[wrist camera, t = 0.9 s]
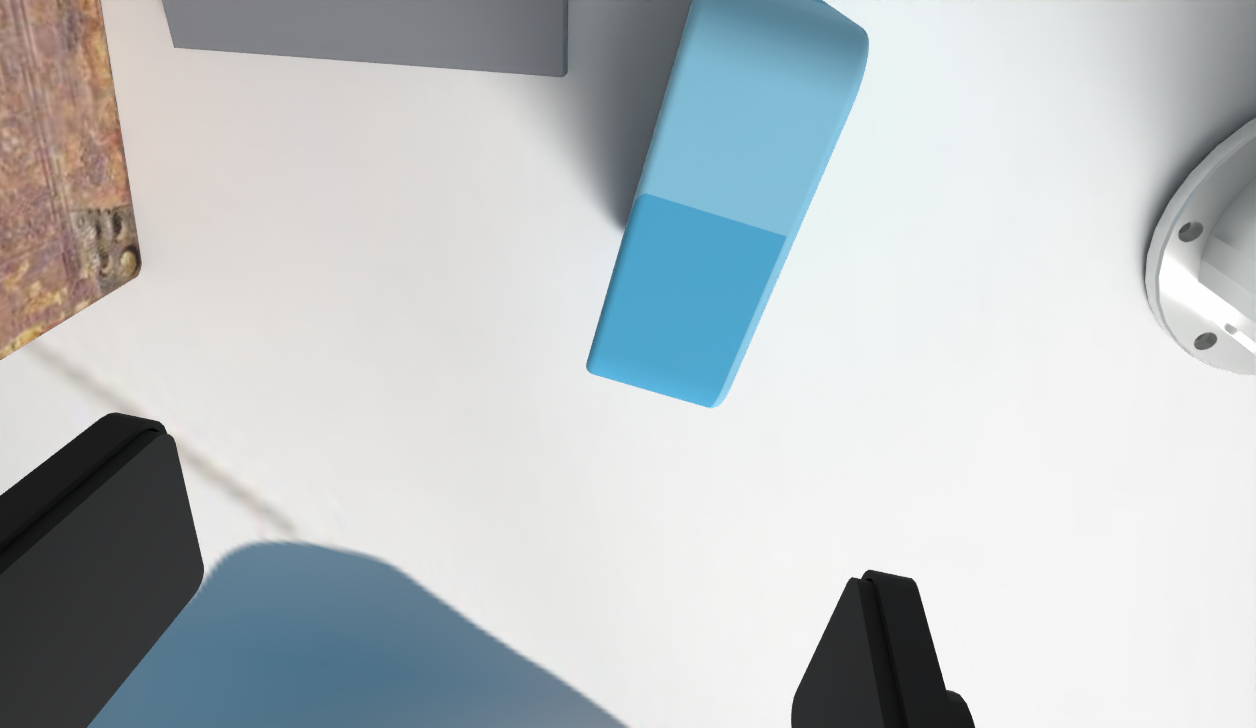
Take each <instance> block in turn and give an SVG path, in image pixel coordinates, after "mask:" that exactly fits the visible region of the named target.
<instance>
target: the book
mask: <svg viewBox="0 0 1256 728" xmlns="http://www.w3.org/2000/svg"><path fill="white" fill-rule="evenodd" d="M141 263H142V262H141V255H140V249H139V242H138V236H137V230H136V223H135V217H134V211H133V204H132V198H131V192H130V186H129V179H128V173H127V167H126V160H125V154H124V148H123V141H122V135H121V129H120V123H119V116H118V110H117V104H116V97H115V91H114V85H113V78H112V72H111V66H110V60H109V53H108V47H107V41H106V34H105V28H104V22H103V16H102V9H101V3H100V0H0V360H1V359H3V358H5V357H6V356H8V355H10V354H11V353H13V352H14V351H16V350H18V349H19V348H21V347H23V346H24V345H26V344H28V343H29V342H31V341H32V340H34V339H36V338H37V337H39V336H41V335H42V334H44V333H46V332H47V331H49V330H50V329H52V328H54V327H55V326H57V325H59V324H60V323H62V322H64V321H65V320H67V319H68V318H70V317H72V316H73V315H75V314H77V313H78V312H80V311H82V310H83V309H85V308H86V307H88V306H90V305H91V304H93V303H95V302H96V301H98V300H100V299H101V298H103V297H104V296H106V295H108V294H109V293H111V292H113V291H114V290H116V289H118V288H119V287H121V286H122V285H124V284H126V283H127V282H129V281H131V280H132V279H134V278H136V277H137V276H138V275H139V272H140V270H141Z"/></svg>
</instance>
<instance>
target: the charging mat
mask: <svg viewBox="0 0 1256 728" xmlns="http://www.w3.org/2000/svg"><path fill="white" fill-rule="evenodd" d="M162 2H163V6H164V10H165V14H166V18H167V21H168V25H169V29H170V33H171V37H172V41H173V45H174V48H186V49H200V50H213V51H226V52H239V53H252V54H265V55H278V56H292V57H305V58H318V59H331V60H344V61H357V62H370V63H383V64H397V65H410V66H423V67H436V68H449V69H462V70H475V71H489V72H502V73H515V74H528V75H541V76H554V77H563V76H564V75H565V74H566V73H567V40H568V0H162Z"/></svg>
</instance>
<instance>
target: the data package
mask: <svg viewBox="0 0 1256 728" xmlns="http://www.w3.org/2000/svg"><path fill="white" fill-rule="evenodd" d="M868 50H869V40H868V36H867V33H866V31H865V30H864V29H863V28H862V27H860V26H859V25H857V24H856V23H854V22H853V21H852V20H850V19H849V18H847V17H846V16H844V15H843V14H841V13H840V12H839V11H837V10H836V9H834V8H833V7H831V6H830V5H828V4H827V3H825V2H824V1H823V0H692V2H691V6H690V9H689V13H688V16H687V20H686V23H685V26H684V30H683V33H682V37H681V40H680V43H679V47H678V50H677V54H676V57H675V61H674V64H673V67H672V71H671V74H670V78H669V81H668V84H667V88H666V91H665V95H664V98H663V102H662V105H661V108H660V112H659V115H658V119H657V122H656V125H655V129H654V132H653V136H652V139H651V143H650V146H649V149H648V153H647V156H646V160H645V163H644V166H643V170H642V173H641V177H640V180H639V183H638V187H637V190H636V194H635V197H634V201H633V204H632V207H631V211H630V214H629V218H628V221H627V225H626V228H625V231H624V235H623V238H622V242H621V245H620V249H619V252H618V255H617V259H616V262H615V266H614V269H613V273H612V276H611V280H610V283H609V287H608V290H607V294H606V297H605V301H604V304H603V308H602V311H601V315H600V318H599V322H598V325H597V329H596V332H595V336H594V339H593V343H592V346H591V349H590V353H589V356H588V360H587V364H586V367H587V370H588V371H589V372H590V373H591V374H594V375H598V376H601V377H604V378H608V379H611V380H615V381H618V382H622V383H625V384H629V385H632V386H636V387H639V388H642V389H646V390H649V391H653V392H656V393H660V394H663V395H667V396H670V397H673V398H677V399H680V400H684V401H687V402H691V403H694V404H698V405H701V406H705V407H708V408H715V407H717V406H718V405H720V404H721V403H722V401H723V400H724V399H725V397H726V395H727V394H728V392H729V390H730V388H731V385H732V383H733V381H734V379H735V376H736V374H737V372H738V369H739V367H740V365H741V362H742V360H743V358H744V355H745V353H746V351H747V348H748V346H749V344H750V342H751V339H752V337H753V335H754V332H755V330H756V328H757V325H758V323H759V321H760V318H761V316H762V314H763V312H764V309H765V307H766V305H767V302H768V300H769V298H770V295H771V293H772V291H773V288H774V286H775V284H776V281H777V279H778V277H779V275H780V272H781V270H782V268H783V265H784V263H785V261H786V258H787V256H788V254H789V251H790V249H791V247H792V244H793V242H794V240H795V238H796V235H797V233H798V231H799V228H800V226H801V224H802V221H803V219H804V217H805V214H806V212H807V210H808V208H809V205H810V203H811V201H812V198H813V196H814V194H815V191H816V189H817V187H818V184H819V182H820V180H821V177H822V175H823V173H824V171H825V168H826V166H827V164H828V161H829V159H830V157H831V154H832V152H833V150H834V147H835V145H836V143H837V140H838V138H839V136H840V134H841V131H842V129H843V127H844V124H845V122H846V120H847V117H848V115H849V113H850V110H851V108H852V106H853V103H854V101H855V98H856V96H857V93H858V90H859V87H860V84H861V81H862V78H863V74H864V71H865V67H866V62H867V57H868Z"/></svg>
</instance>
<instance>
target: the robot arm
mask: <svg viewBox="0 0 1256 728" xmlns="http://www.w3.org/2000/svg"><path fill="white" fill-rule="evenodd" d="M1145 284H1146V289H1147V295H1148V301H1149V305H1150V307H1151V309H1152V311H1153V313H1154V316H1155V318H1156V320H1157V322H1158V324H1159V325H1160V326H1161V327H1162V328H1163V330H1164V331H1165V332H1166V333H1167V334H1168V335H1169V336H1170V338H1171V339H1172V340H1173V341H1174V342H1175V343H1177V344H1178V345H1179V346H1180V347H1181V348H1182V349H1183V350H1184V351H1186V352H1187V353H1188V354H1189V355H1191V356H1192V357H1194V358H1196V359H1198V360H1200V361H1202V362H1204V363H1206V364H1208V365H1210V366H1212V367H1214V368H1217V369H1221V370H1225V371H1228V372H1232V373H1236V374H1241V375H1251V376H1256V118H1254V119H1252V120H1251V121H1249V122H1247V123H1246V124H1245V125H1244V126H1242V127H1241V128H1240V129H1238V130H1237V131H1236V132H1235V133H1233V134H1232V135H1231V136H1229V137H1228V138H1227V139H1226V140H1224V141H1223V142H1222V143H1220V144H1219V145H1218V146H1217V147H1216V148H1215V149H1214V150H1213V151H1212V152H1211V153H1210V154H1209V155H1208V156H1207V157H1206V158H1205V159H1204V160H1203V161H1202V162H1201V163H1200V164H1199V165H1198V166H1197V167H1196V168H1195V169H1194V170H1193V171H1192V172H1191V173H1190V174H1189V175H1188V177H1187V178H1186V179H1185V181H1184V182H1183V184H1182V185H1181V186H1180V188H1179V189H1178V190H1177V192H1176V193H1175V194H1174V196H1173V197H1172V198H1171V200H1170V201H1169V203H1168V205H1167V207H1166V209H1165V211H1164V213H1163V215H1162V217H1161V219H1160V220H1159V222H1158V224H1157V226H1156V228H1155V231H1154V234H1153V238H1152V241H1151V244H1150V248H1149V251H1148V254H1147V262H1146V275H1145ZM203 574H204V565H203V561H202V557H201V552H200V548H199V543H198V539H197V535H196V530H195V526H194V522H193V517H192V513H191V509H190V504H189V500H188V495H187V491H186V487H185V482H184V478H183V474H182V469H181V465H180V461H179V456H178V452H177V447H176V443H175V441H174V438H173V437H172V436H171V435H169V434H167V432H166V429H165V427H164V425H162V424H161V423H160V422H159V421H155V420H150V419H145V418H140V417H136V416H131V415H126V414H121V413H116V412H115V413H110V414H107V415H106V416H104V417H102V418H100V419H99V420H98V421H97V422H95V423H94V424H93V425H91V426H90V427H89V428H87V429H86V430H85V431H84V432H82V433H81V434H80V435H78V436H77V437H76V438H75V439H73V440H72V441H71V442H69V443H68V444H67V445H65V446H64V447H63V448H62V449H60V450H59V451H58V452H56V453H55V454H54V455H52V456H51V457H50V458H49V459H47V460H46V461H45V462H43V463H42V464H41V465H40V466H38V467H37V468H36V469H34V470H33V471H32V472H30V473H29V474H28V475H27V476H25V477H24V478H23V479H21V480H20V481H19V482H18V483H16V484H15V485H14V486H12V487H11V488H10V489H8V490H7V491H6V492H5V493H3V494H2V495H1V496H0V728H87V727H88V725H89V724H90V723H91V722H92V720H93V719H94V718H95V717H96V715H97V714H98V713H99V712H100V711H101V709H102V708H103V707H104V706H105V704H106V703H107V702H108V700H109V699H110V698H111V697H112V696H113V694H114V693H115V692H116V691H117V690H118V688H119V687H120V686H121V685H122V683H123V682H124V681H125V679H126V678H127V677H128V676H129V675H130V673H131V672H132V671H133V670H134V668H135V667H136V666H137V665H138V664H139V662H140V661H141V660H142V659H143V658H144V656H145V655H146V654H147V653H148V651H149V650H150V649H151V648H152V646H153V645H154V644H155V643H156V642H157V640H158V639H159V638H160V637H161V635H162V634H163V633H164V632H165V630H166V629H167V628H168V627H169V626H170V624H171V623H172V622H173V621H174V619H175V618H176V617H177V616H178V614H179V613H180V612H181V611H182V610H183V608H184V607H185V606H186V605H187V603H188V602H189V601H190V600H191V598H192V597H193V596H194V595H195V593H196V592H197V590H198V588H199V586H200V584H201V582H202V579H203ZM791 725H792V728H975V725H974V722H973V719H972V716H971V713H970V711H969V708H968V706H967V703H966V702H965V701H964V699H963V698H962V697H961V696H960V694H957V693H955V692H953V691H949V690H946V688H945V684H944V681H943V677H942V673H941V670H940V666H939V662H938V659H937V655H936V652H935V648H934V644H933V641H932V637H931V633H930V630H929V626H928V623H927V619H926V615H925V612H924V608H923V604H922V601H921V597H920V594H919V590H918V587H917V585H916V582H915V581H914V580H913V579H912V578H907V577H902V576H897V575H893V574H888V573H883V572H878V571H873V570H868V571H866V572H865V573H864V575H863V576H862V578H861V579H858V578H853V577H852V578H851V579H849V581H848V582H847V584H846V587H845V589H844V591H843V593H842V595H841V597H840V599H839V601H838V604H837V606H836V608H835V610H834V612H833V614H832V616H831V618H830V621H829V623H828V625H827V627H826V629H825V631H824V633H823V636H822V638H821V640H820V642H819V644H818V646H817V648H816V650H815V653H814V655H813V657H812V659H811V661H810V663H809V665H808V668H807V670H806V672H805V674H804V676H803V678H802V680H801V682H800V685H799V687H798V689H797V691H796V693H795V696H794V700H793V704H792V713H791Z"/></svg>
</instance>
